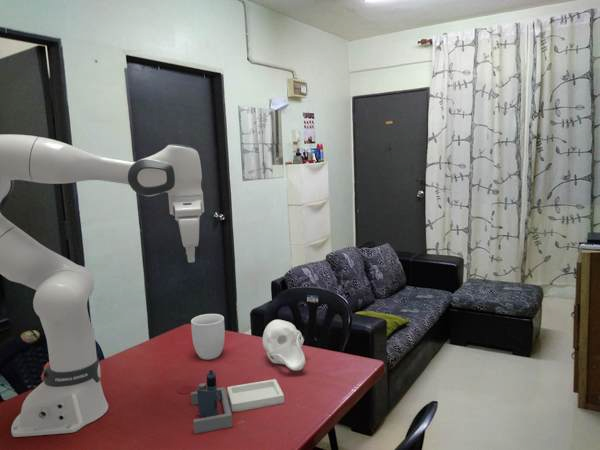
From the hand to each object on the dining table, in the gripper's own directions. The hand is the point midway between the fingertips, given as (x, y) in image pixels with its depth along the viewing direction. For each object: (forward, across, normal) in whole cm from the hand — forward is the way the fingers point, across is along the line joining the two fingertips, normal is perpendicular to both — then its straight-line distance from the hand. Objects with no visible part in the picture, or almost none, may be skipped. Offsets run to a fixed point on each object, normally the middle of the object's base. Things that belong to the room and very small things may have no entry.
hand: (190, 258), depth 122 cm
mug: (+40, -30, +5) cm, 50 cm away
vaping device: (+40, +9, +1) cm, 41 cm away
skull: (+40, -14, +28) cm, 51 cm away
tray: (+40, +5, +14) cm, 43 cm away
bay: (+40, +9, +1) cm, 41 cm away
